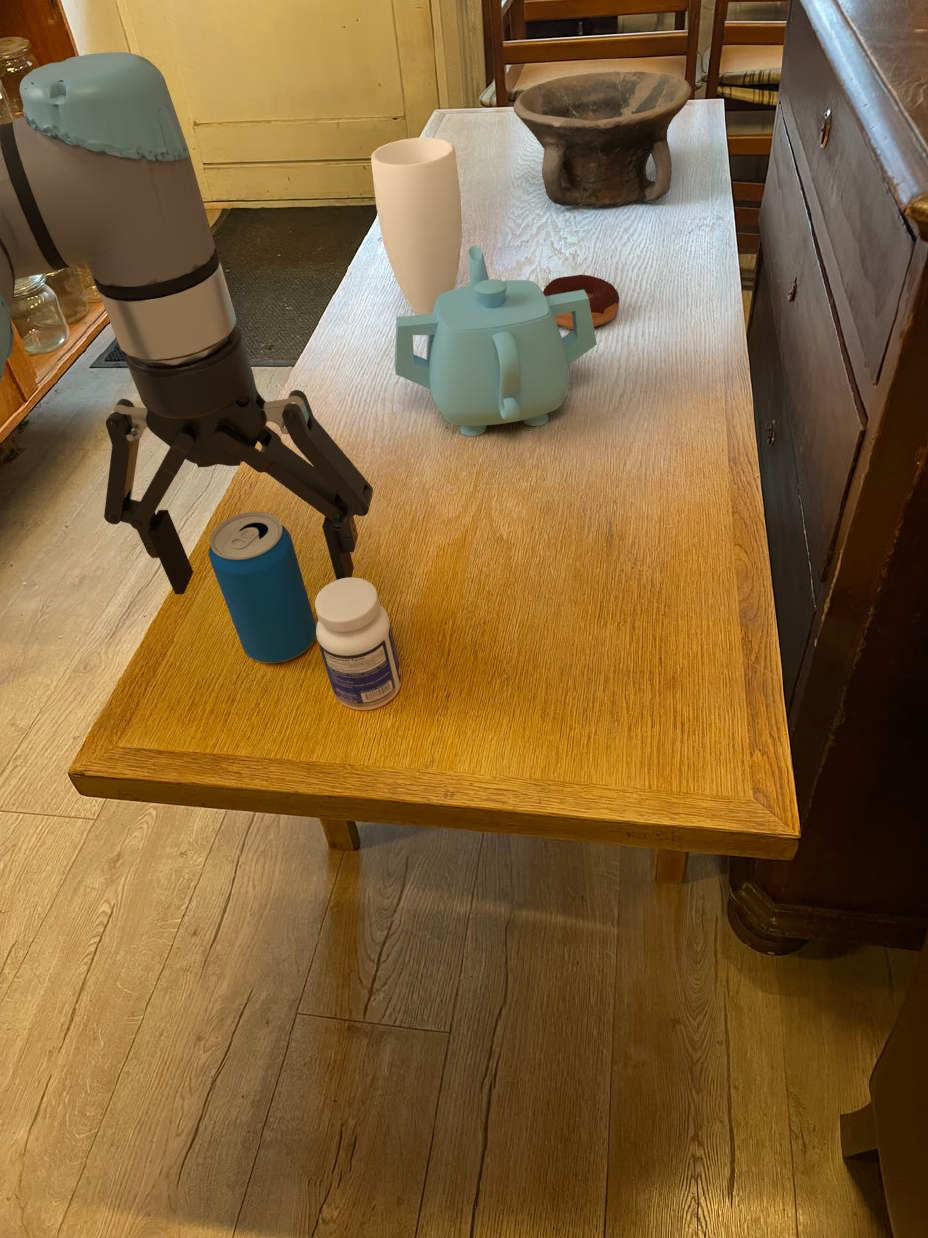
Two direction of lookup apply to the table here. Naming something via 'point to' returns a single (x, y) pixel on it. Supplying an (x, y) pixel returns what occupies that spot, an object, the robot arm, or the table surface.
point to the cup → (419, 216)
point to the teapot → (495, 350)
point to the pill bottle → (357, 644)
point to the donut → (598, 293)
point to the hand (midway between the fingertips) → (264, 581)
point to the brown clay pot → (604, 135)
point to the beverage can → (262, 586)
